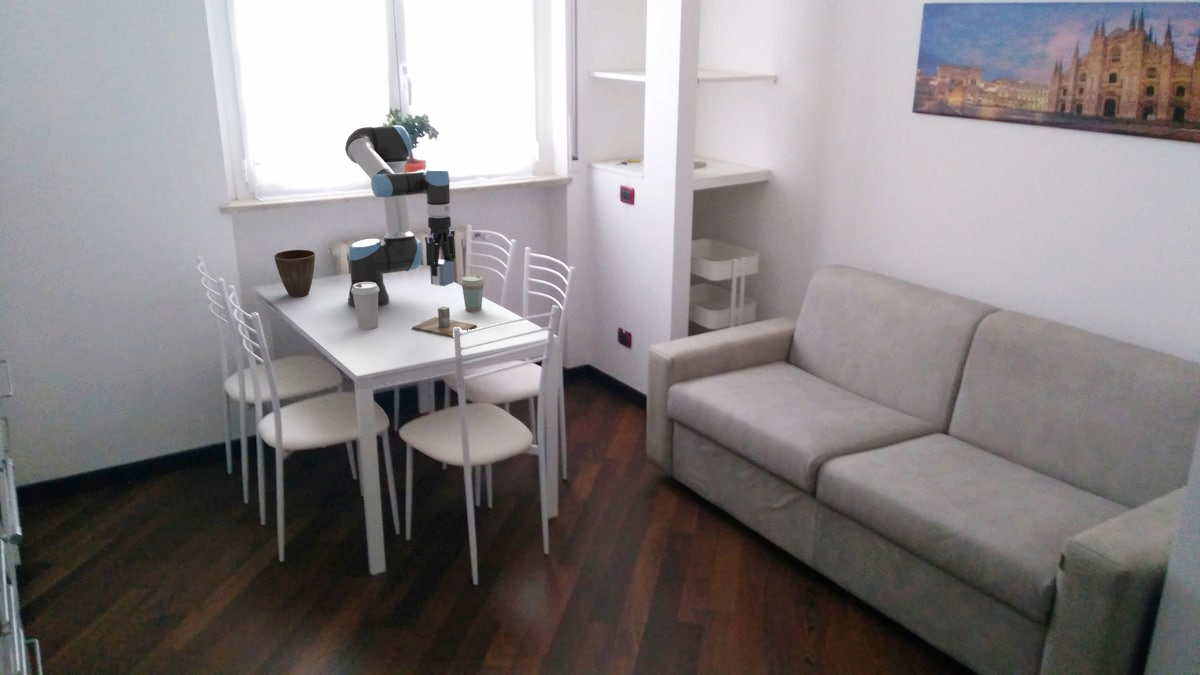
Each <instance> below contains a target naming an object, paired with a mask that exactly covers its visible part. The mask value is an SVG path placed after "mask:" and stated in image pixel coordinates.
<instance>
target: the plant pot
mask: <svg viewBox="0 0 1200 675" xmlns="http://www.w3.org/2000/svg"><path fill="white" fill-rule="evenodd" d="M273 257H274V261H275V264H276V269H277V272H278V274H279V277H280V280H281V282H282V284H283V285H282V286H284V289H285V291H286V292H287V295H288V296H289V297H291V298H300V297H306V296H308V295H309V293H310V291H311V288H312V287H311V286H312V283H313V278H314V272H315V262H316V252H314V251H313V250H308V249H292V250H284V251H280V252H277V253H275V254H274V256H273Z"/></svg>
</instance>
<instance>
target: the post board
mask: <svg viewBox="0 0 1200 675" xmlns="http://www.w3.org/2000/svg"><path fill="white" fill-rule="evenodd" d="M450 316H451V315H450V307H447V306H441V307H438V308H437V316H434V317H432V318H429V319H427V320H425V321H422V322H420V323H418V324H415V325H413V326H412V327H411V330H415V331H420V332H424V333H429V334H435V335H439V336H443V337H444V336H445V337H449V338H453V328H454V327H460V328H461V329H462V330H468V329H472V330H474V329H476V328H477V327H478V326H477V324H474V323H469V322H463V321H458V320H453V319H451V318H450ZM473 328H474V329H473Z"/></svg>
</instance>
